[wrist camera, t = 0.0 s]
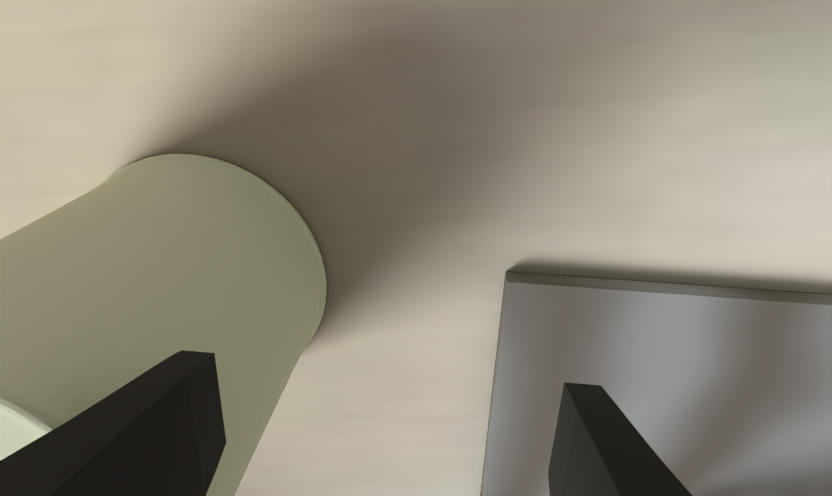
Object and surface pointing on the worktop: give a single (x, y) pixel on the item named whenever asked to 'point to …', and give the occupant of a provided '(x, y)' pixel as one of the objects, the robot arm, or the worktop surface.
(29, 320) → the can
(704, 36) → the worktop surface
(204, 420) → the robot arm
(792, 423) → the cradle
